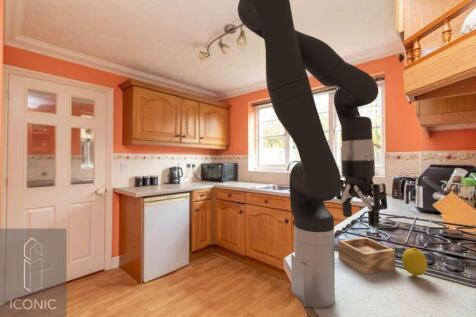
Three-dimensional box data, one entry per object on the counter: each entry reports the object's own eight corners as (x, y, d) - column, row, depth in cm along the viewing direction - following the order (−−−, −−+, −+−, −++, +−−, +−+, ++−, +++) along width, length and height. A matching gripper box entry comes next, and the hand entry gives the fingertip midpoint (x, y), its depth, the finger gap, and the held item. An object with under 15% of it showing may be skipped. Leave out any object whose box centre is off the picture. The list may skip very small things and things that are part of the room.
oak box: (364, 275, 65) (364, 254, 65) (338, 258, 76) (338, 240, 76) (395, 269, 68) (395, 249, 68) (365, 254, 79) (365, 236, 79)
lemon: (432, 282, 60) (432, 252, 60) (408, 280, 62) (408, 251, 61) (420, 272, 66) (419, 244, 66) (398, 270, 67) (398, 243, 67)
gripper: (326, 158, 64) (329, 215, 65) (367, 159, 51) (370, 231, 51) (349, 157, 66) (351, 212, 67) (394, 157, 52) (396, 227, 53)
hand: (359, 220), depth 59 cm, fingers open, 8 cm apart
